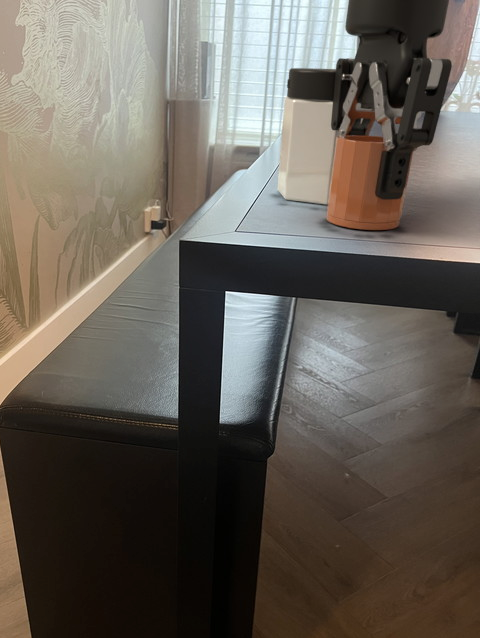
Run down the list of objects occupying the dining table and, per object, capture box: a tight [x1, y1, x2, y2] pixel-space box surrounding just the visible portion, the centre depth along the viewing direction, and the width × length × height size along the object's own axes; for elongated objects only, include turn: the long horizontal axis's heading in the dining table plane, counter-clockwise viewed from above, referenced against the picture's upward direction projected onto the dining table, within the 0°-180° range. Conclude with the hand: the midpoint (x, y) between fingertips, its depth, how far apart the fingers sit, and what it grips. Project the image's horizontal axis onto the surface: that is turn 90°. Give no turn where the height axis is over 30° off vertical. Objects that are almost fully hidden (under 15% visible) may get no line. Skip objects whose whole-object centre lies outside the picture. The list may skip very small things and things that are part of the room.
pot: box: [325, 134, 414, 231], centre depth 53 cm, size 6×6×7 cm
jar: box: [277, 67, 363, 206], centre depth 61 cm, size 9×8×12 cm
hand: (367, 190), depth 53 cm, fingers closed on pot, 6 cm apart
